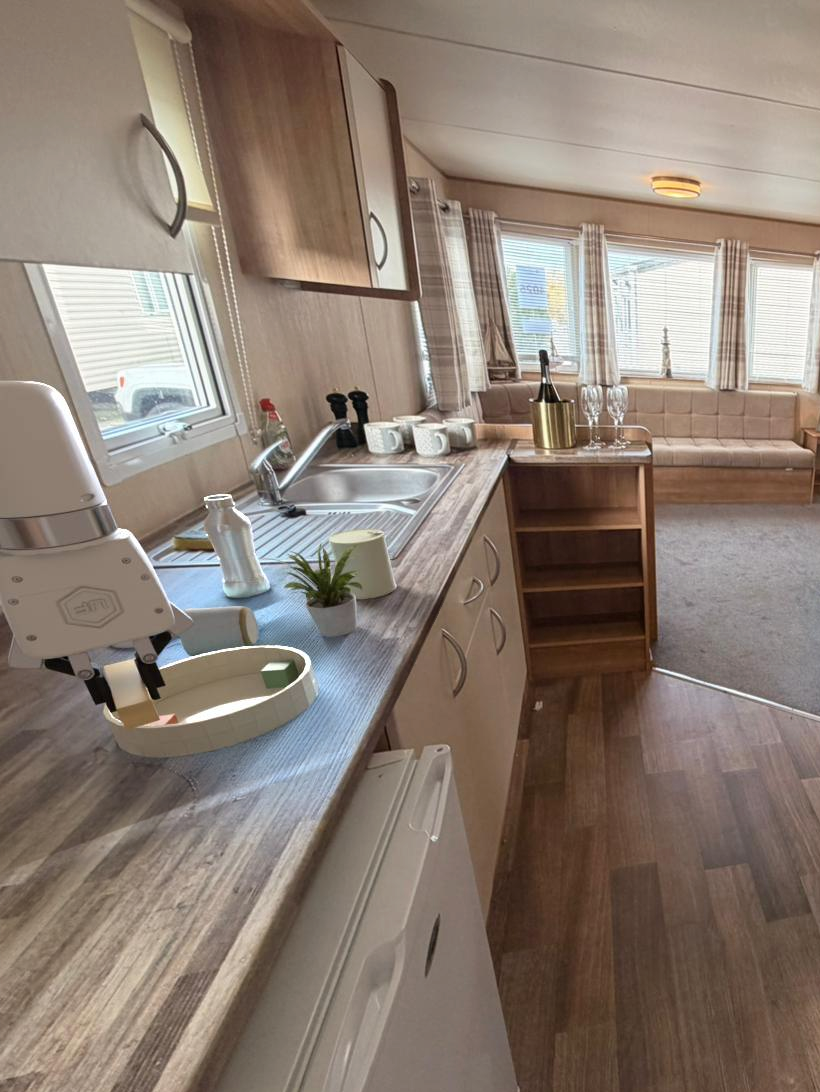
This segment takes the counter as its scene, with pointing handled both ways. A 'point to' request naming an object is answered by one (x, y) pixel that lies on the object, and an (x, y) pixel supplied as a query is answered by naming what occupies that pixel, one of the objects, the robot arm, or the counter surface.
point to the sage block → (279, 673)
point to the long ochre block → (130, 694)
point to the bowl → (219, 702)
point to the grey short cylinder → (219, 629)
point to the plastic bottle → (234, 548)
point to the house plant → (328, 594)
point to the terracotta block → (165, 720)
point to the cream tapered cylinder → (365, 561)
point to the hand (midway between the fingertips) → (133, 699)
